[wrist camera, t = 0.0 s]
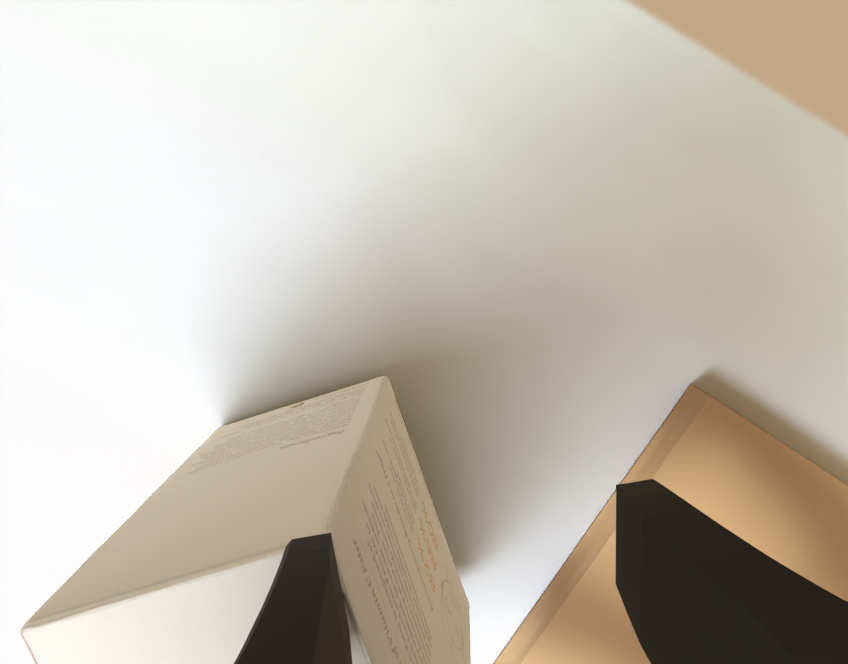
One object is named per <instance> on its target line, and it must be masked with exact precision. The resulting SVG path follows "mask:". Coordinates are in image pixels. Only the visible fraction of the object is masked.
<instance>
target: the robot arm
mask: <svg viewBox="0 0 848 664" xmlns="http://www.w3.org/2000/svg"><path fill="white" fill-rule="evenodd" d="M616 586H617V589H618V591H619V594H620V596H621V599H622V601H623V604H624V607H625V609H626V612H627V614H628V617H629V619H630V621H631V624H632V626H633V629H634V631H635V633H636V636H637V638H638V640H639V643H640V645H641V646H642V648H643V650H644V652H645V654H646V656H647V658H648V659H649V661H650V663H651V664H848V602H847V601H845V600H843V599H841V598H839V597H837V596H836V595H834V594H832V593H830V592H828V591H827V590H825V589H823V588H822V587H820V586H818V585H816V584H815V583H813V582H811V581H809V580H808V579H806V578H804V577H803V576H801V575H799V574H797V573H796V572H794V571H792V570H790V569H789V568H787V567H786V566H784V565H782V564H781V563H779V562H777V561H776V560H774V559H773V558H771V557H769V556H768V555H766V554H765V553H763V552H761V551H760V550H758V549H757V548H755V547H754V546H752V545H750V544H749V543H747V542H746V541H744V540H743V539H741V538H740V537H738V536H737V535H735V534H734V533H732V532H731V531H729V530H728V529H726V528H725V527H723V526H722V525H720V524H719V523H717V522H716V521H714V520H713V519H711V518H710V517H708V516H707V515H706V514H704V513H703V512H701V511H700V510H698V509H697V508H695V507H694V506H692V505H691V504H689V503H688V502H687V501H685V500H684V499H682V498H681V497H679V496H678V495H676V494H675V493H674V492H672V491H671V490H669V489H668V488H666V487H665V486H663V485H662V484H660V483H659V482H657V481H655V480H654V479H649V480H643V481H637V482H631V483H625V484H619V485H616ZM234 664H352V655H351V643H350V633H349V627H348V620H347V615H346V610H345V604H344V599H343V594H342V589H341V583H340V578H339V573H338V567H337V562H336V557H335V552H334V546H333V541H332V536H331V533H326V534H320V535H314V536H308V537H302V538H296V539H292V540H291V541H290V542H289V543H288V544H287V546H286V547H285V550H284V554H283V557H282V559H281V562H280V565H279V567H278V570H277V573H276V575H275V578H274V580H273V583H272V585H271V587H270V590H269V592H268V594H267V597H266V599H265V601H264V603H263V606H262V608H261V610H260V612H259V614H258V616H257V618H256V620H255V622H254V624H253V627H252V629H251V631H250V633H249V635H248V637H247V639H246V641H245V643H244V645H243V647H242V649H241V651H240V653H239V655H238V657H237V658H236V660H235V662H234Z"/></svg>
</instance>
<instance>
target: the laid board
mask: <svg viewBox="0 0 848 664" xmlns="http://www.w3.org/2000/svg"><path fill="white" fill-rule="evenodd" d="M649 479H654V480H655V481H657V482H659V483H660V484H662V485H663V486H665V487H666V488H668V489H669V490H671V491H672V492H674V493H675V494H676V495H678V496H679V497H681V498H682V499H684V500H685V501H687V502H688V503H689V504H691V505H692V506H694V507H695V508H697V509H698V510H700V511H701V512H703V513H704V514H706V515H707V516H708V517H710V518H711V519H713V520H714V521H716V522H717V523H719V524H720V525H722V526H723V527H725V528H726V529H728V530H729V531H731V532H732V533H734V534H735V535H737V536H738V537H740V538H741V539H743V540H744V541H746V542H747V543H749V544H750V545H752V546H754V547H755V548H757V549H758V550H760V551H761V552H763V553H765V554H766V555H768V556H769V557H771V558H773V559H774V560H776V561H777V562H779V563H781V564H782V565H784V566H786V567H787V568H789V569H790V570H792V571H794V572H796V573H797V574H799V575H801V576H803V577H804V578H806V579H808V580H809V581H811V582H813V583H815V584H816V585H818V586H820V587H822V588H823V589H825V590H827V591H828V592H830V593H832V594H834V595H836V596H837V597H839V598H841V599H843V600H845V601H847V602H848V485H846V484H845V483H843V482H841V481H840V480H838V479H837V478H835V477H834V476H832V475H831V474H829V473H828V472H826V471H825V470H823V469H822V468H820V467H819V466H817V465H815V464H814V463H812V462H811V461H809V460H808V459H806V458H805V457H803V456H802V455H800V454H799V453H797V452H796V451H794V450H793V449H791V448H789V447H788V446H786V445H785V444H783V443H782V442H780V441H779V440H777V439H776V438H774V437H773V436H771V435H770V434H768V433H767V432H765V431H763V430H762V429H760V428H759V427H757V426H756V425H754V424H753V423H751V422H750V421H748V420H747V419H745V418H744V417H742V416H740V415H739V414H737V413H736V412H734V411H733V410H731V409H730V408H728V407H727V406H725V405H724V404H722V403H721V402H719V401H718V400H716V399H714V398H713V397H711V396H710V395H708V394H706V393H705V392H703V391H701V390H700V389H698V388H696V387H695V386H693V385H690V386H689V387H688V389H687V390H686V392H685V393H684V395H683V396H682V397H681V399H680V400H679V402H678V403H677V404H676V406H675V407H674V409H673V410H672V412H671V413H670V414H669V416H668V417H667V419H666V420H665V421H664V423H663V424H662V426H661V427H660V429H659V430H658V431H657V433H656V434H655V436H654V437H653V439H652V440H651V441H650V443H649V444H648V446H647V447H646V448H645V450H644V451H643V453H642V454H641V456H640V457H639V458H638V460H637V461H636V463H635V464H634V465H633V467H632V468H631V470H630V471H629V473H628V474H627V475H626V477H625V478H624V480H623V481H622V482H621V484H625V483H631V482H637V481H643V480H649ZM494 664H651V663H650V661H649V659H648V658H647V656H646V654H645V652H644V650H643V648H642V646H641V645H640V643H639V640H638V638H637V636H636V633H635V631H634V629H633V626H632V624H631V621H630V619H629V617H628V614H627V612H626V609H625V607H624V604H623V601H622V599H621V596H620V594H619V591H618V589H617V586H616V491H615V492H614V494H613V495H612V497H611V498H610V500H609V501H608V502H607V504H606V505H605V507H604V508H603V509H602V511H601V512H600V514H599V515H598V517H597V518H596V519H595V521H594V522H593V524H592V525H591V526H590V528H589V529H588V531H587V532H586V534H585V535H584V536H583V538H582V539H581V541H580V542H579V544H578V545H577V546H576V548H575V549H574V551H573V552H572V553H571V555H570V556H569V558H568V559H567V561H566V562H565V563H564V565H563V566H562V568H561V569H560V570H559V572H558V573H557V575H556V576H555V578H554V579H553V580H552V582H551V583H550V585H549V586H548V588H547V589H546V590H545V592H544V593H543V595H542V596H541V597H540V599H539V600H538V602H537V603H536V605H535V606H534V607H533V609H532V610H531V612H530V613H529V614H528V616H527V617H526V619H525V620H524V622H523V623H522V624H521V626H520V627H519V629H518V630H517V631H516V633H515V634H514V636H513V637H512V639H511V640H510V641H509V643H508V644H507V646H506V647H505V649H504V650H503V651H502V653H501V654H500V656H499V657H498V658H497V660H496V661H495V663H494Z"/></svg>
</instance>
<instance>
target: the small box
mask: <svg viewBox="0 0 848 664" xmlns="http://www.w3.org/2000/svg"><path fill="white" fill-rule="evenodd" d="M326 533H331V536H332V541H333V546H334V552H335V557H336V562H337V567H338V573H339V578H340V583H341V589H342V594H343V599H344V604H345V610H346V615H347V620H348V627H349V633H350V643H351V655H352V664H470V623H469V602H468V599H467V597H466V594H465V592H464V589H463V586H462V583H461V581H460V578H459V575H458V572H457V569H456V567H455V564H454V561H453V558H452V555H451V552H450V550H449V547H448V544H447V541H446V538H445V536H444V533H443V530H442V527H441V524H440V522H439V519H438V516H437V513H436V510H435V508H434V505H433V502H432V499H431V497H430V494H429V491H428V488H427V485H426V482H425V479H424V477H423V474H422V471H421V468H420V465H419V462H418V459H417V457H416V454H415V451H414V449H413V446H412V443H411V440H410V438H409V435H408V432H407V429H406V426H405V423H404V421H403V418H402V415H401V412H400V409H399V406H398V404H397V401H396V398H395V395H394V392H393V389H392V386H391V382H390V379H389V378H388V376H381V377H378V378H375V379H372V380H369V381H366V382H362V383H359V384H356V385H353V386H349V387H346V388H343V389H340V390H336V391H333V392H330V393H327V394H324V395H320V396H317V397H314V398H311V399H308V400H304V401H301V402H298V403H295V404H291V405H288V406H285V407H282V408H279V409H275V410H272V411H269V412H266V413H263V414H260V415H256V416H253V417H250V418H247V419H244V420H241V421H238V422H234V423H231V424H228V425H224V426H221V427H219V428H218V429H217V430H216V431H215V432H214V433H213V434H212V435H211V436H210V437H209V438H208V439H207V440H206V441H205V442H204V443H203V444H202V445H201V446H200V447H199V448H198V449H197V450H196V451H195V452H194V453H193V454H192V455H191V456H190V457H189V458H188V459H187V460H186V461H185V462H184V463H183V464H182V465H181V466H180V467H179V468H178V469H177V470H176V471H175V472H174V473H173V474H172V475H171V476H170V477H169V478H168V479H167V480H166V481H165V482H164V483H163V484H162V485H161V486H160V487H159V488H158V489H157V490H156V491H155V492H154V493H153V494H152V495H151V496H150V497H149V498H148V499H147V500H146V501H145V502H144V503H143V504H142V506H141V507H140V508H139V509H138V510H137V511H136V512H135V513H134V514H133V515H132V516H131V517H130V518H129V519H128V520H127V521H126V522H125V523H124V524H123V525H122V526H121V527H120V528H119V529H118V530H117V531H116V532H115V533H114V534H113V535H112V536H111V537H110V538H109V539H108V540H107V541H106V542H105V543H104V544H103V545H102V546H101V547H100V548H98V549H97V550H96V551H95V552H94V553H93V554H92V555H91V556H90V557H89V558H88V560H87V561H86V562H85V563H84V564H83V565H82V566H81V567H80V568H79V569H78V570H77V571H76V572H75V573H74V574H73V575H72V576H71V577H70V578H69V579H68V580H67V581H66V582H65V583H64V584H63V585H62V586H61V587H60V588H59V589H58V590H57V591H56V592H55V593H54V594H53V595H52V596H51V597H50V598H49V600H48V601H47V602H46V603H45V604H44V605H43V606H42V607H41V608H40V609H39V610H38V611H37V612H36V613H35V614H34V615H33V616H32V617H31V618H30V619H29V620H28V621H27V623H26V624H25V625H24V626H23V628H22V629H21V635H22V637H23V639H24V640H25V642H26V644H27V646H28V648H29V650H30V652H31V654H32V656H33V658H34V661H35V663H36V664H234V662H235V660H236V658H237V657H238V655H239V653H240V651H241V649H242V647H243V645H244V643H245V641H246V639H247V637H248V635H249V633H250V631H251V629H252V627H253V624H254V622H255V620H256V618H257V616H258V614H259V612H260V610H261V608H262V606H263V603H264V601H265V599H266V597H267V594H268V592H269V590H270V587H271V585H272V583H273V580H274V578H275V575H276V573H277V570H278V567H279V565H280V562H281V559H282V557H283V554H284V550H285V547H286V546H287V544H288V543H289V542H290V541H291V540H292V539H296V538H302V537H308V536H314V535H320V534H326Z"/></svg>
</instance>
